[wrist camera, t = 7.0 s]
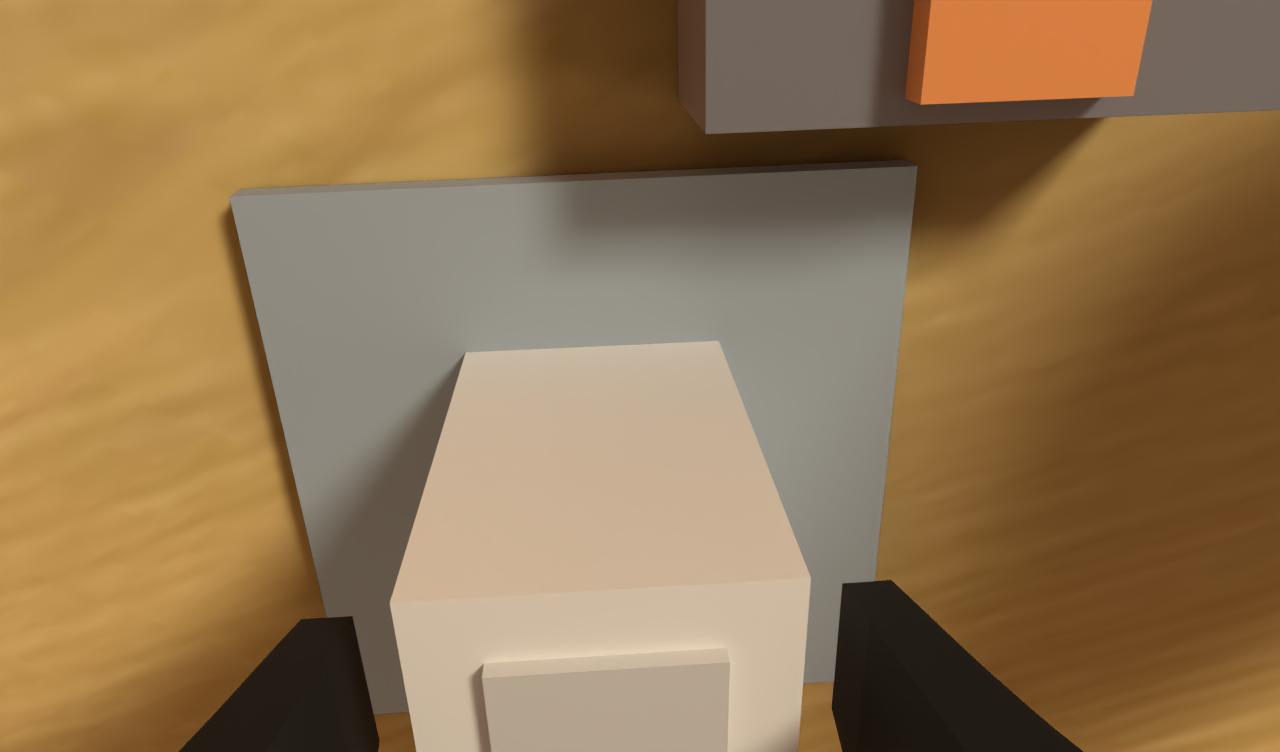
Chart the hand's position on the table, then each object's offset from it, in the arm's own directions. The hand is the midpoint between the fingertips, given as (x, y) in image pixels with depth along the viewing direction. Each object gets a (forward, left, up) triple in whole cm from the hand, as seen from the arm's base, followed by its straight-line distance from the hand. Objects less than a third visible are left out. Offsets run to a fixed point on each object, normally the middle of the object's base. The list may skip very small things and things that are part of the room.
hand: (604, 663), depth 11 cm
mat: (0, 0, -5) cm, 5 cm away
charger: (0, 0, -4) cm, 4 cm away
